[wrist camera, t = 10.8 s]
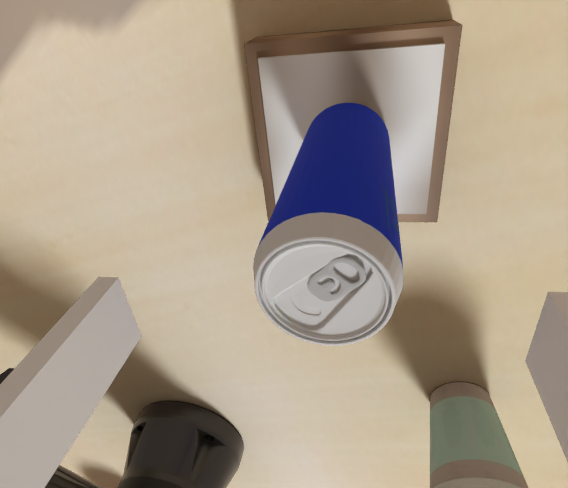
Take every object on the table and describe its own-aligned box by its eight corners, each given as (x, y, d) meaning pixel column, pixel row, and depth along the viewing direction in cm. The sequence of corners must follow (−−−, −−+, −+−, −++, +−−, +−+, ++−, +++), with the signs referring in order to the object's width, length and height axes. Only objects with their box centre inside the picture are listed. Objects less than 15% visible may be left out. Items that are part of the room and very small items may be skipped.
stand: (276, 202, 32) (267, 222, 30) (256, 37, 26) (242, 44, 23) (431, 202, 30) (437, 224, 27) (453, 19, 24) (463, 25, 21)
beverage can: (349, 194, 27) (329, 371, 15) (290, 144, 26) (217, 293, 14) (407, 138, 25) (442, 300, 12) (345, 81, 23) (314, 195, 11)
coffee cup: (401, 386, 42) (409, 511, 32) (482, 362, 38) (520, 496, 28) (440, 431, 45) (458, 558, 35) (519, 413, 41) (565, 551, 31)
